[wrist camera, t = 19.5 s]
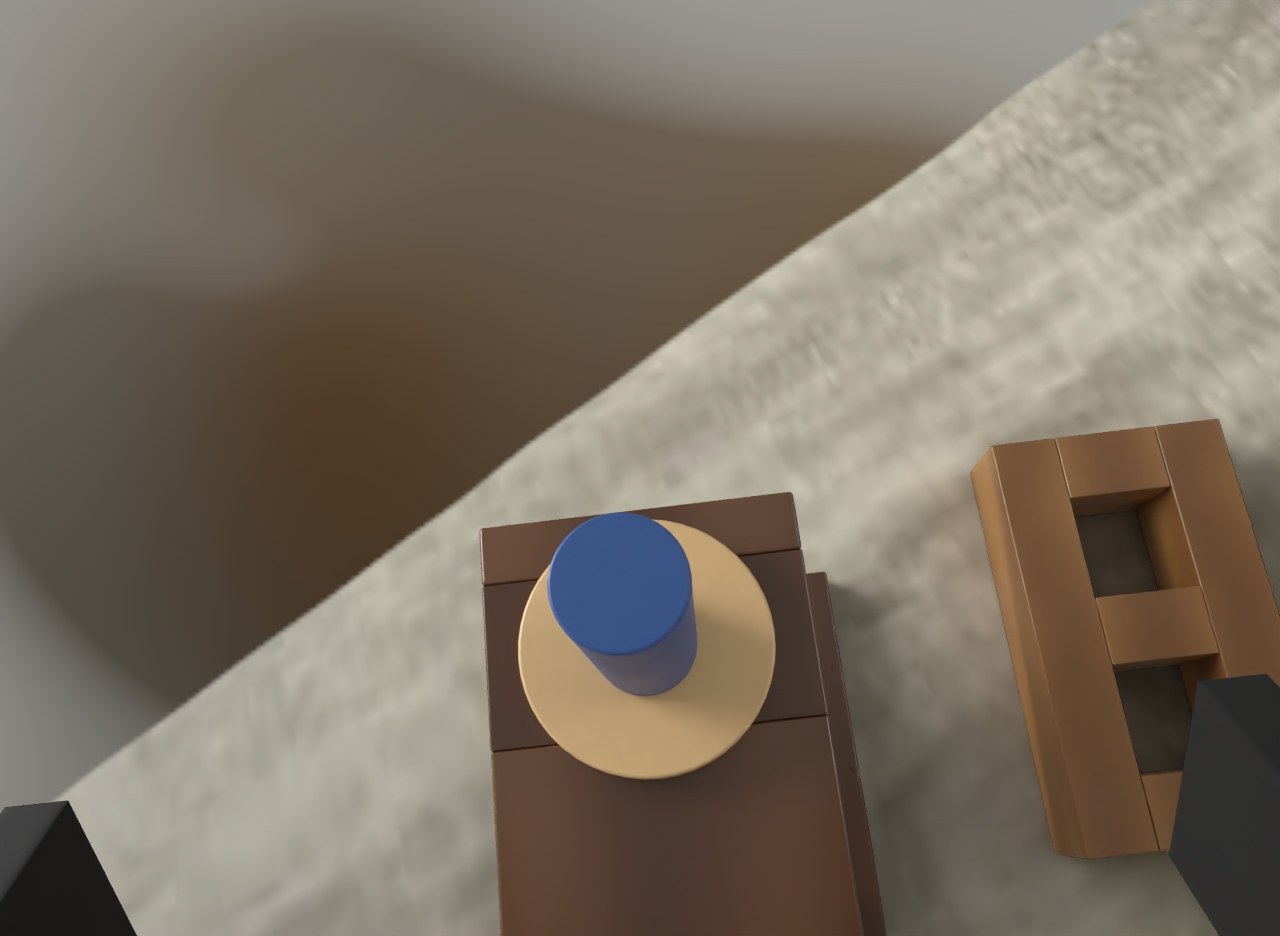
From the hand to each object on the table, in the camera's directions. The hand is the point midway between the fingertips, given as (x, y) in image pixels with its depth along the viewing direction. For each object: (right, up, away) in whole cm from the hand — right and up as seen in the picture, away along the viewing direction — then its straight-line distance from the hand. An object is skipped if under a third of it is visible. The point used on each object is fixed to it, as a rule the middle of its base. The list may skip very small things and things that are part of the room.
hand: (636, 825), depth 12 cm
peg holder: (+17, -2, +23) cm, 29 cm away
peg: (+1, -2, +19) cm, 19 cm away
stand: (+1, -6, +23) cm, 24 cm away
